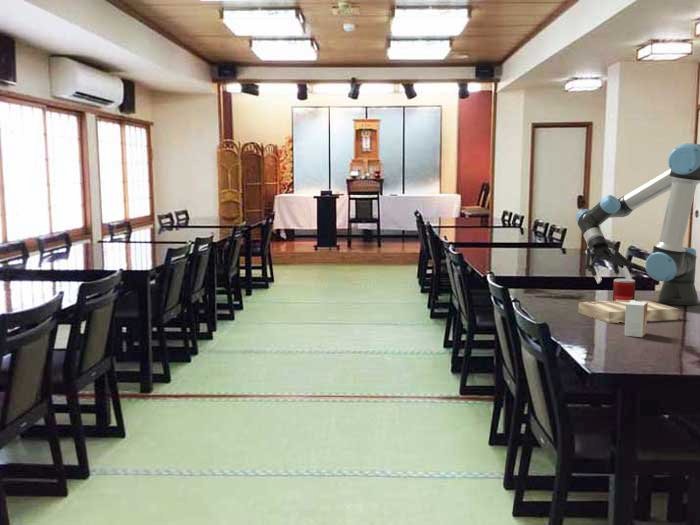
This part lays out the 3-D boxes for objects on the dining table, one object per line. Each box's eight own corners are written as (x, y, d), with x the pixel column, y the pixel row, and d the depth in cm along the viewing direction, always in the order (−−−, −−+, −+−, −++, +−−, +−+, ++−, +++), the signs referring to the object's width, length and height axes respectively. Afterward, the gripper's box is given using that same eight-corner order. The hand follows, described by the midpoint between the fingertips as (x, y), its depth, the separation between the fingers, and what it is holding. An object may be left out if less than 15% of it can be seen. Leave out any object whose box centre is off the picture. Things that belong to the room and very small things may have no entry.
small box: (642, 337, 217) (644, 305, 216) (624, 335, 220) (625, 303, 219) (646, 333, 224) (648, 301, 223) (628, 331, 227) (630, 300, 226)
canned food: (637, 308, 268) (638, 281, 266) (616, 308, 268) (618, 281, 266) (629, 305, 275) (630, 278, 274) (609, 305, 275) (610, 278, 274)
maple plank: (643, 309, 265) (643, 299, 265) (678, 319, 246) (678, 308, 246) (578, 312, 260) (578, 302, 259) (608, 323, 240) (609, 311, 240)
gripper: (618, 245, 293) (637, 285, 281) (565, 247, 288) (583, 287, 275) (626, 234, 287) (646, 274, 275) (572, 235, 282) (590, 276, 270)
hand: (614, 281), depth 275 cm, fingers open, 13 cm apart
